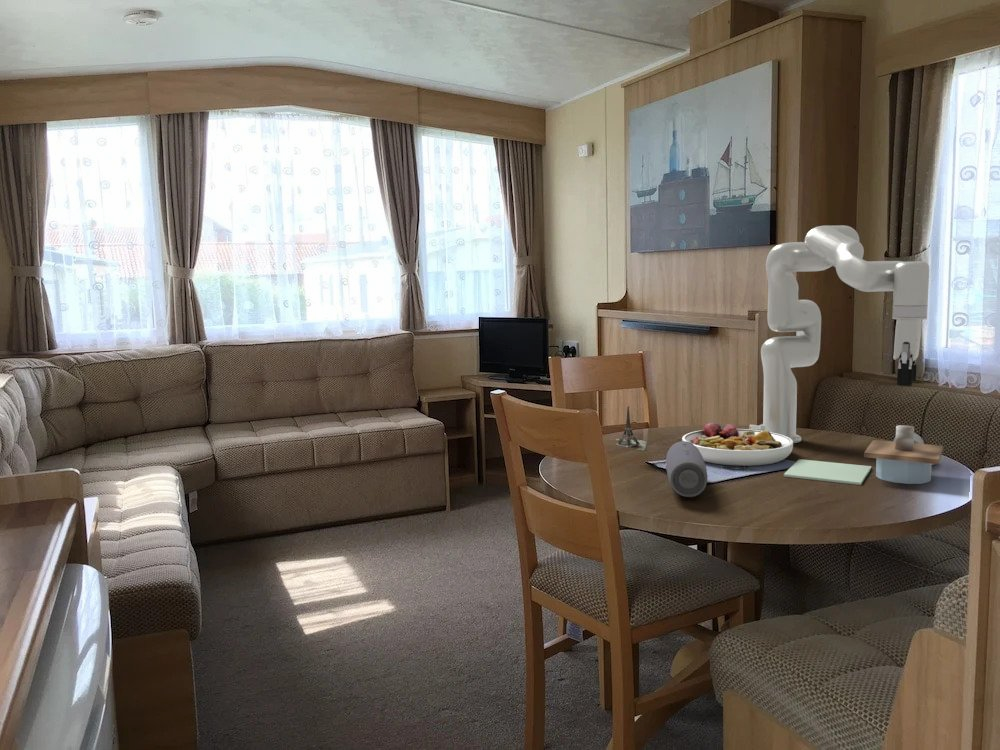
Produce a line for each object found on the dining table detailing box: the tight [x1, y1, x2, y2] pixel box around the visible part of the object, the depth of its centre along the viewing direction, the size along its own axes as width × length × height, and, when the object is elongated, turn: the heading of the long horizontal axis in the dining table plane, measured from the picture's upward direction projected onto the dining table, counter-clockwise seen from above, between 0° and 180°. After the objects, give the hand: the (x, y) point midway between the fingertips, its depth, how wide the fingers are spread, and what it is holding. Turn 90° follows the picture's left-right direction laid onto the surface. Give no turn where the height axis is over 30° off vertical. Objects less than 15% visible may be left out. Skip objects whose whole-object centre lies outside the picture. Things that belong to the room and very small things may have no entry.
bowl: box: [681, 421, 794, 467], centre depth 226 cm, size 30×30×8 cm
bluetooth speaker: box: [665, 440, 708, 498], centre depth 193 cm, size 23×9×10 cm, turn 170°
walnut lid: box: [863, 424, 944, 465], centre depth 197 cm, size 16×16×7 cm
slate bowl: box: [875, 458, 933, 485], centre depth 198 cm, size 12×12×6 cm
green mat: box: [783, 458, 872, 486], centre depth 205 cm, size 18×18×1 cm
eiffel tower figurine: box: [615, 405, 648, 451], centre depth 242 cm, size 15×10×13 cm
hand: (906, 382), depth 196 cm, fingers open, 9 cm apart
